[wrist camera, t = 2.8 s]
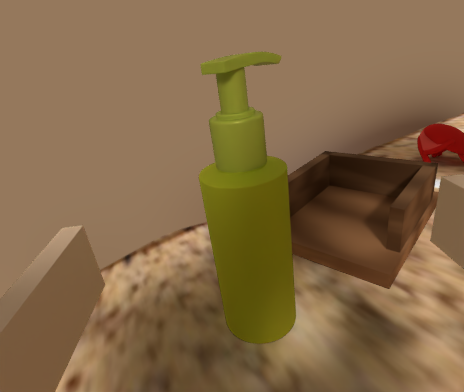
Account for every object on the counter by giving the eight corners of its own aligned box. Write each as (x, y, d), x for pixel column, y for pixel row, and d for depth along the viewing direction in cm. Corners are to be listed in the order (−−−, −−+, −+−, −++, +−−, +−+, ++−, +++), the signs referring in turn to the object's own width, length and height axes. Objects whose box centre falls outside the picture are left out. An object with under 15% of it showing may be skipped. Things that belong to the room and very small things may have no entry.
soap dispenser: (315, 300, 27) (309, 44, 18) (267, 358, 22) (230, 56, 14) (261, 275, 30) (236, 53, 22) (211, 320, 26) (156, 66, 18)
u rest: (330, 184, 47) (330, 146, 45) (437, 203, 38) (445, 157, 36) (259, 241, 36) (254, 195, 33) (389, 288, 27) (395, 229, 24)
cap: (407, 147, 48) (448, 130, 43) (414, 125, 51) (453, 107, 46) (435, 182, 50) (479, 169, 45) (441, 159, 53) (482, 145, 48)
